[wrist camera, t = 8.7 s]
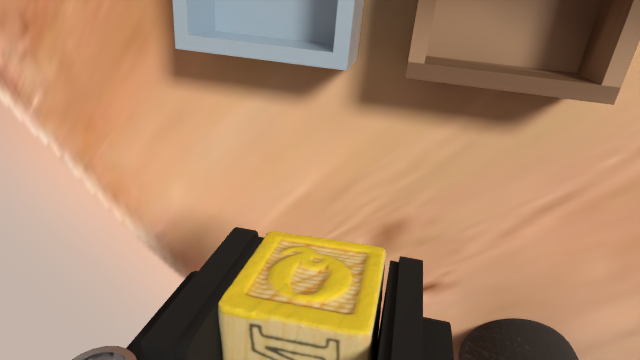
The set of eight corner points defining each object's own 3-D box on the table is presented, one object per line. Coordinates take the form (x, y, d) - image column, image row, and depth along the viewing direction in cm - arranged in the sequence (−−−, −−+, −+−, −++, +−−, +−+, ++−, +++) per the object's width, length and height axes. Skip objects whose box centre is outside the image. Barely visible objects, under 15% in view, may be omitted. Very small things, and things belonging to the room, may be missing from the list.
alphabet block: (269, 322, 12) (222, 422, 9) (265, 226, 10) (209, 309, 8) (378, 341, 11) (364, 455, 8) (387, 243, 10) (375, 339, 7)
